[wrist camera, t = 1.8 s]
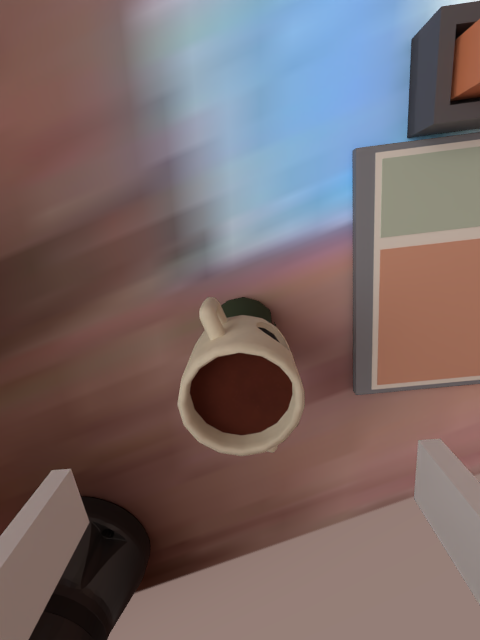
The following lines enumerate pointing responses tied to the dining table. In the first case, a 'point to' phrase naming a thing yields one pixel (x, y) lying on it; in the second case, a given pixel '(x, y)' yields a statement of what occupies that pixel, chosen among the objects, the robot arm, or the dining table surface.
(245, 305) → the character mug
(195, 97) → the dining table surface
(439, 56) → the button housing
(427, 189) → the picture board
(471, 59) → the button cap
